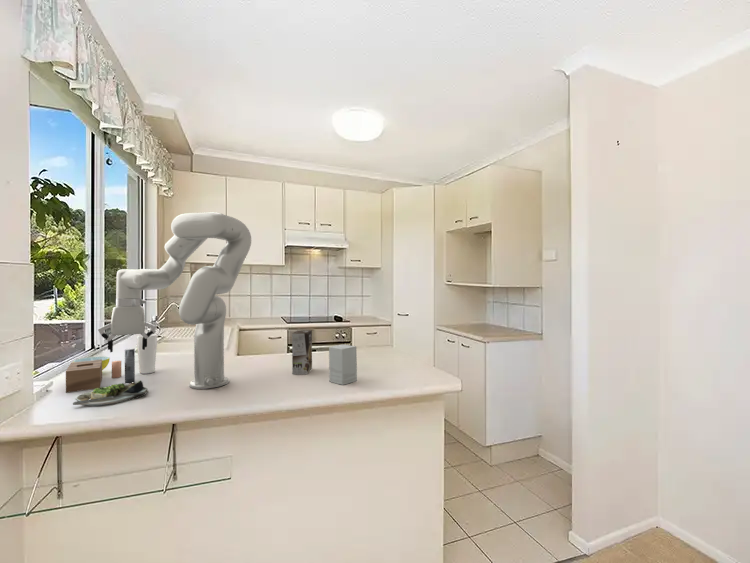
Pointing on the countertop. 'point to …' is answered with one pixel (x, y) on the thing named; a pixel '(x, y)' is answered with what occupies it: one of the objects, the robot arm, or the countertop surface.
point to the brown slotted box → (84, 375)
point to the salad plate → (111, 394)
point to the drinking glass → (147, 354)
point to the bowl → (104, 359)
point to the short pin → (116, 369)
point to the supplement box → (342, 364)
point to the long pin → (129, 365)
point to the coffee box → (302, 352)
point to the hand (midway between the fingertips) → (127, 350)
